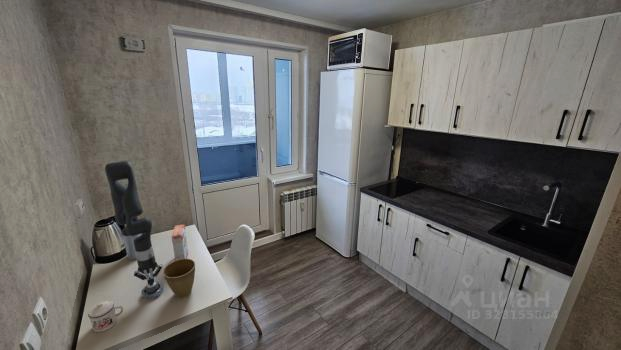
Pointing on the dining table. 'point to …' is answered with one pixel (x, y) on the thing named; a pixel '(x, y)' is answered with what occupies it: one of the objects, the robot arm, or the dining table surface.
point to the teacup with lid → (103, 316)
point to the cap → (152, 287)
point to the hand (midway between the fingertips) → (151, 284)
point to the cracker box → (180, 242)
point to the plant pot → (180, 276)
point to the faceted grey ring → (152, 295)
